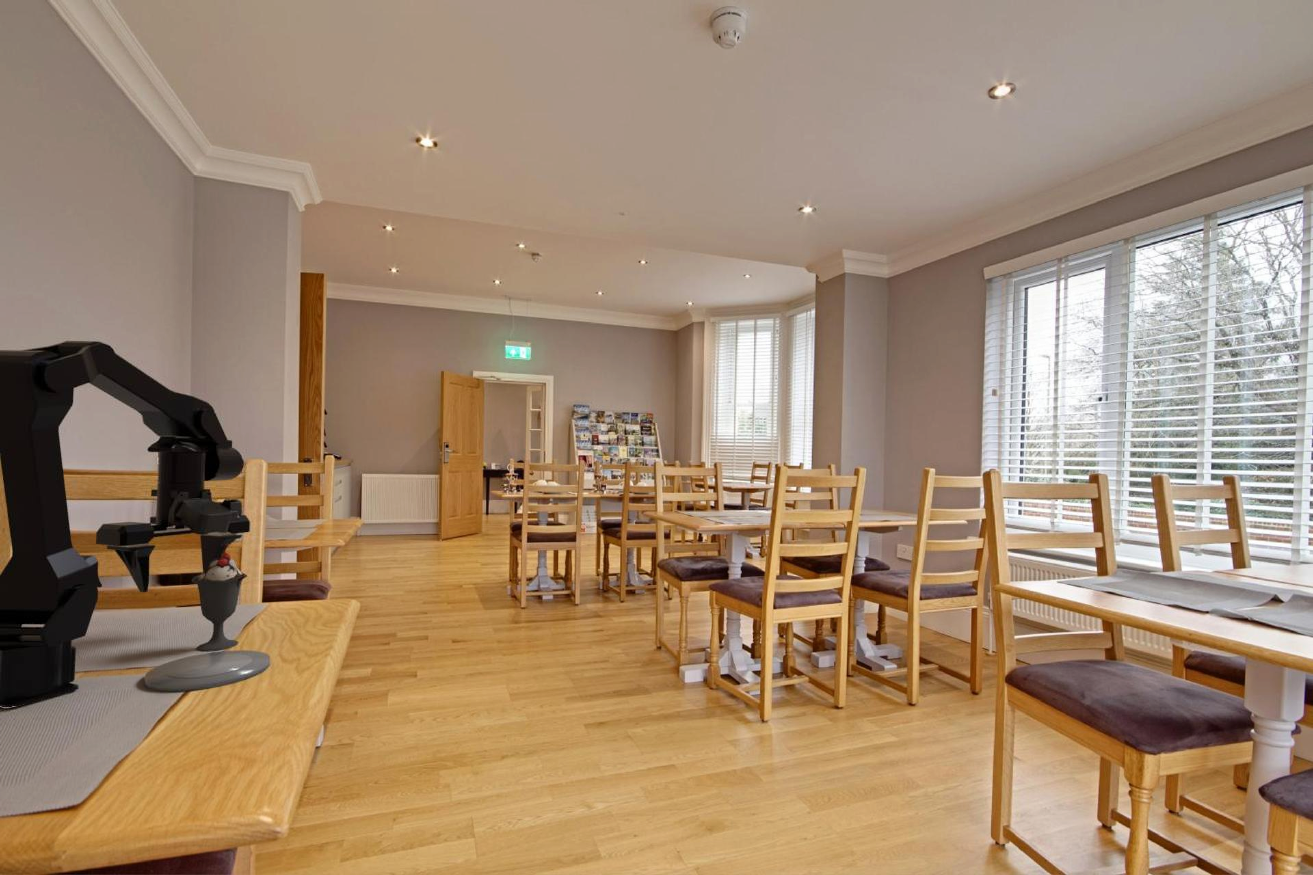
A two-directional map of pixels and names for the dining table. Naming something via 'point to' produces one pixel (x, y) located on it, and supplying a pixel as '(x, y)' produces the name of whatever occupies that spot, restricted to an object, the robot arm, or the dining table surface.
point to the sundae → (219, 598)
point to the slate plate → (207, 670)
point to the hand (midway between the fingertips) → (177, 585)
